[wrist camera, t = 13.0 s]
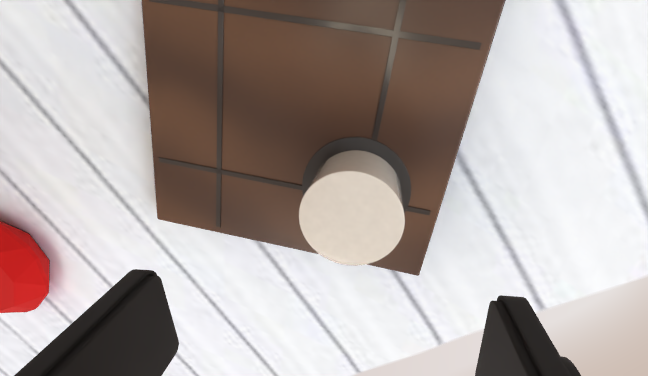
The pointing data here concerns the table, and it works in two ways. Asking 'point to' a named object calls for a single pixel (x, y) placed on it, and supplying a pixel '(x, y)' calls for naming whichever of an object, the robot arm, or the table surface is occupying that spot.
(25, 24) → the table surface
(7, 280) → the gemstone
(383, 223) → the cream cylinder puck
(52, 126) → the table surface
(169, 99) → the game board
